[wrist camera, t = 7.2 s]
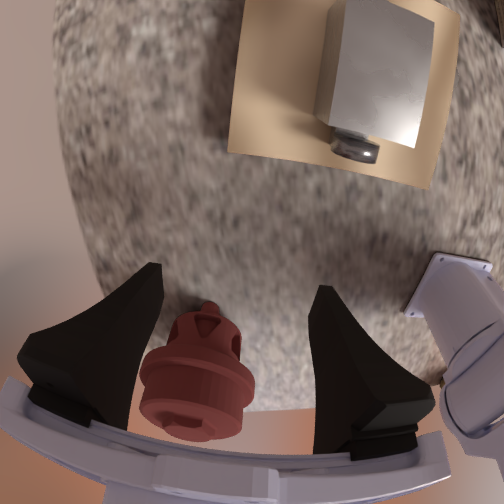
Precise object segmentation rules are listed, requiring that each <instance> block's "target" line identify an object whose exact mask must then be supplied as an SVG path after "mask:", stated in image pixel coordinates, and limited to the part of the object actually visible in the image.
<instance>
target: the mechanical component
mask: <svg viewBox="0 0 504 504" xmlns="http://www.w3.org/2000/svg"><path fill="white" fill-rule="evenodd" d="M241 340H242V337H241V333H240V331H239V329H238V328H237V326H236V325H235V324H234V323H232V322H231V321H230V320H228V319H227V318H225V317H223V316H221V315H220V314H219V307H218V306H217V305H216V304H215V303H212V302H206V303H204V304H203V305H202V308H201V311H194V312H188V313H185V314H183V315H181V316H179V317H178V318H177V319H176V320H175V321H174V323H173V325H172V328H171V332H170V335H169V338H168V341H167V344H166V346H162V347H158V348H156V349H153V350H152V351H150V352H149V353H148V354H147V355H146V356H145V358H144V360H143V363H142V366H141V369H140V373H139V374H140V379H141V381H142V383H143V385H144V386H145V389H144V392H143V396H142V400H141V403H140V406H139V410H140V412H141V413H142V415H143V416H144V417H145V418H146V419H147V420H149V421H150V422H151V423H153V424H154V425H156V426H158V427H160V428H162V429H164V430H165V431H166V432H167V433H168V434H170V435H171V436H174V437H176V438H179V439H182V440H187V441H193V442H206V441H209V440H211V439H224V438H228V437H231V436H234V435H236V434H238V433H239V432H240V431H241V429H242V419H243V408H245V407H247V406H248V405H249V404H250V403H251V402H252V401H253V398H254V390H255V380H254V377H253V375H252V373H251V372H250V371H249V370H248V369H247V367H245V366H244V365H243V364H242V363H240V362H239V361H240V350H241Z"/></svg>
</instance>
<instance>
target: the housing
mask: <svg viewBox="0 0 504 504" xmlns="http://www.w3.org/2000/svg"><path fill="white" fill-rule="evenodd" d="M434 26H435V22H433V21H431V20H429V19H427V18H425V17H423V16H421V15H419V14H416V13H414V12H412V11H410V10H407V9H405V8H403V7H400V6H398V5H395V4H393V3H390V2H389V1H388V0H337V1H336V2H335V3H334V4H333V5H332V6H331V7H330V8H329V10H328V13H327V21H326V29H325V36H324V44H323V51H322V58H321V65H320V71H319V78H318V84H317V91H316V97H315V103H314V109H313V116H315V117H316V118H318V119H319V120H321V121H322V122H324V123H325V124H327V125H329V126H332V127H331V132H330V137H329V142H328V144H329V145H330V146H331V152H333V153H334V154H336V155H339V156H341V157H344V158H347V159H350V160H353V161H357V162H361V163H367V164H376V161H377V157H378V153H379V149H380V145H379V144H377V143H375V142H373V141H370V140H368V137H369V135H371V136H375V137H379V138H382V139H386V140H389V141H393V142H396V143H399V144H403V145H406V146H409V147H412V148H414V147H415V143H416V139H417V135H418V130H419V126H420V122H421V117H422V112H423V107H424V102H425V97H426V91H427V85H428V79H429V72H430V65H431V57H432V48H433V38H434Z"/></svg>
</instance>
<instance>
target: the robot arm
mask: <svg viewBox="0 0 504 504" xmlns="http://www.w3.org/2000/svg"><path fill="white" fill-rule="evenodd" d="M491 269H492V263H491V262H487V261H481V260H476V259H471V258H465V257H460V256H454V255H449V254H443V253H435V254H434V255H433V257H432V259H431V261H430V263H429V266H428V268H427V270H426V272H425V274H424V276H423V278H422V280H421V282H420V283H419V285H418V287H417V289H416V291H415V293H414V295H413V297H412V298H411V300H410V302H409V304H408V306H407V307H406V309H405V311H404V315H405V317H425V319H426V322H427V324H428V326H429V328H430V330H431V332H432V334H433V337H434V339H435V341H436V343H437V345H438V348H439V350H440V352H441V355H442V357H443V359H444V362H445V364H446V367H447V369H448V370H447V371H446V372H445V373H444V374H443V378H444V381H445V385H444V386H443V387H442V389H441V392H440V403H439V406H440V412H441V416H442V419H443V421H444V423H445V425H446V426H447V428H448V429H449V430H450V431H451V432H452V433H453V434H454V435H455V436H456V438H457V439H458V441H459V442H460V444H461V446H462V448H463V449H464V452H465V454H467V455H470V456H476V457H484V458H492V459H496V461H497V463H498V466H499V469H500V471H501V474H502V477H503V480H504V418H502V419H501V420H500V421H498V422H496V423H494V424H490V423H492V422H493V421H494V420H496V419H497V418H499V417H500V416H501V415H503V414H504V291H503V289H502V288H501V287H500V285H499V284H498V283H497V281H496V280H495V279H494V278H493V276H492V275H491V274H490V273H489V272H490V270H491ZM163 300H164V290H163V279H162V266H161V264H158V263H152V262H149V263H147V264H146V265H145V266H144V267H142V268H141V269H140V270H139V271H138V272H137V273H135V274H134V275H133V276H132V277H131V278H130V279H128V280H127V281H126V282H125V283H124V284H122V285H121V286H120V287H119V288H118V289H116V290H115V291H114V292H112V293H111V294H110V295H108V296H107V297H106V298H104V299H103V300H101V301H100V302H99V303H97V304H95V305H94V306H92V307H91V308H89V309H87V310H86V311H84V312H82V313H80V314H78V315H76V316H75V317H73V318H71V319H69V320H67V321H64V322H62V323H60V324H58V325H55V326H53V327H51V328H47V329H44V330H41V331H38V332H35V333H32V334H30V335H29V337H28V338H27V340H26V342H25V343H24V345H23V347H22V348H21V350H20V351H19V353H18V355H17V360H18V363H19V365H20V366H21V368H22V369H23V370H24V372H25V373H26V374H27V376H28V377H29V378H30V380H31V381H32V382H33V383H34V384H33V386H32V388H30V387H29V386H27V385H26V384H24V383H22V382H20V381H18V380H17V379H15V378H13V377H11V376H8V378H7V380H6V382H5V384H4V386H3V388H2V390H1V392H0V428H1V429H3V430H4V431H5V432H6V433H8V434H9V435H10V436H12V437H13V438H14V439H16V440H17V441H19V442H20V443H22V444H23V445H25V446H27V447H28V448H30V449H32V450H33V451H35V452H37V453H39V454H40V455H42V456H44V457H46V458H48V459H49V460H51V461H53V462H56V463H57V464H59V465H61V466H63V467H65V468H67V469H69V470H71V471H73V472H75V473H78V474H80V475H82V476H84V477H87V478H89V479H91V480H94V481H96V482H99V483H101V484H104V485H106V490H105V494H104V499H103V503H102V504H372V503H376V502H381V501H385V500H388V499H392V498H396V497H399V496H403V495H406V494H410V493H413V492H416V491H419V490H421V489H424V488H426V487H429V486H431V485H433V484H436V483H438V482H440V481H442V480H444V479H447V478H449V477H450V476H451V470H450V466H449V461H448V456H447V452H446V448H445V444H444V440H443V436H442V432H441V431H436V432H432V433H428V434H424V435H421V436H419V437H417V438H416V434H415V432H416V431H418V425H417V423H418V422H419V421H420V420H421V419H423V418H424V417H425V416H426V415H427V414H429V413H430V412H431V411H432V410H433V408H434V406H435V399H434V396H433V393H432V390H431V387H430V385H429V384H427V383H425V382H424V381H422V380H420V379H419V378H417V377H416V376H414V375H413V374H411V373H410V372H408V371H407V370H406V369H404V368H403V367H402V366H400V365H399V364H398V363H397V362H395V361H394V360H393V359H392V358H391V357H390V356H389V355H388V354H386V353H385V352H384V351H383V350H382V349H381V348H380V347H379V346H378V345H377V344H376V343H375V342H374V341H373V340H372V338H371V337H370V336H369V335H368V334H367V333H366V332H365V330H364V329H363V328H362V327H361V326H360V324H359V323H358V322H357V320H356V319H355V318H354V316H353V315H352V314H351V312H350V311H349V310H348V308H347V307H346V305H345V304H344V303H343V301H342V300H341V298H340V297H339V295H338V294H337V292H336V291H335V290H334V288H333V287H332V286H325V285H319V288H318V291H317V293H316V296H315V299H314V302H313V305H312V307H311V310H310V313H309V315H308V329H309V341H310V347H311V354H312V361H313V367H314V374H315V388H316V415H315V435H314V446H313V455H272V454H271V455H270V454H253V453H240V452H229V451H221V450H213V449H207V448H199V447H193V446H188V445H182V444H177V443H172V442H168V441H163V440H159V439H154V438H151V437H146V436H143V435H139V434H135V433H132V432H128V431H127V426H128V419H129V412H130V406H131V400H132V395H133V390H134V386H135V382H136V377H137V373H138V370H139V366H140V362H141V359H142V356H143V353H144V351H145V348H146V346H147V343H148V341H149V339H150V336H151V334H152V331H153V329H154V327H155V324H156V322H157V319H158V317H159V314H160V311H161V307H162V303H163Z"/></svg>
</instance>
